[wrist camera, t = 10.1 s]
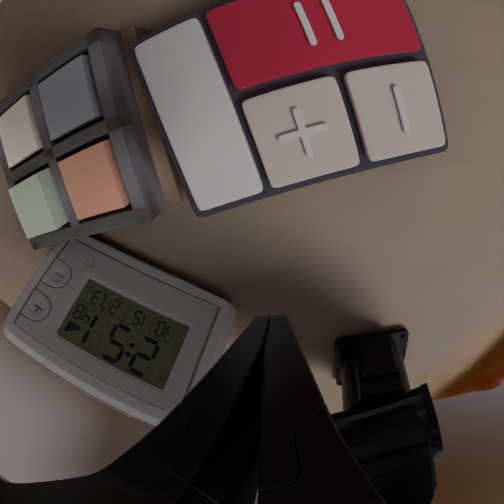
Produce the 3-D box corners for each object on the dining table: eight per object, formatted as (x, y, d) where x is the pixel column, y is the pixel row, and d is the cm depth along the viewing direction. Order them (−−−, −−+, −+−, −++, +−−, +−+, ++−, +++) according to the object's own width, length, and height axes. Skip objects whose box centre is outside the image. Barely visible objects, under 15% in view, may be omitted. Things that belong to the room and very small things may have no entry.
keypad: (189, 194, 19) (166, 218, 16) (55, 229, 23) (27, 251, 19) (145, 29, 14) (111, 19, 11) (17, 109, 17) (-16, 117, 14)
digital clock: (250, 304, 23) (221, 424, 14) (199, 358, 28) (165, 452, 18) (81, 192, 21) (-17, 260, 11) (62, 267, 25) (-6, 337, 16)
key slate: (116, 112, 15) (95, 116, 13) (72, 134, 16) (50, 141, 14) (103, 56, 13) (81, 54, 11) (59, 82, 14) (37, 85, 12)
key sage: (76, 215, 18) (57, 229, 16) (45, 226, 19) (27, 239, 17) (57, 163, 16) (36, 173, 15) (27, 180, 17) (8, 190, 15)
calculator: (457, 154, 12) (192, 225, 16) (424, 141, 16) (210, 200, 20) (395, -36, 8) (119, 44, 11) (374, -12, 12) (151, 52, 15)
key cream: (58, 141, 16) (37, 149, 15) (28, 159, 17) (9, 168, 15) (46, 92, 15) (24, 95, 13) (16, 114, 16) (-4, 120, 14)
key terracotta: (141, 194, 18) (124, 207, 16) (96, 207, 19) (78, 220, 17) (122, 134, 16) (102, 141, 14) (78, 154, 17) (57, 162, 15)
